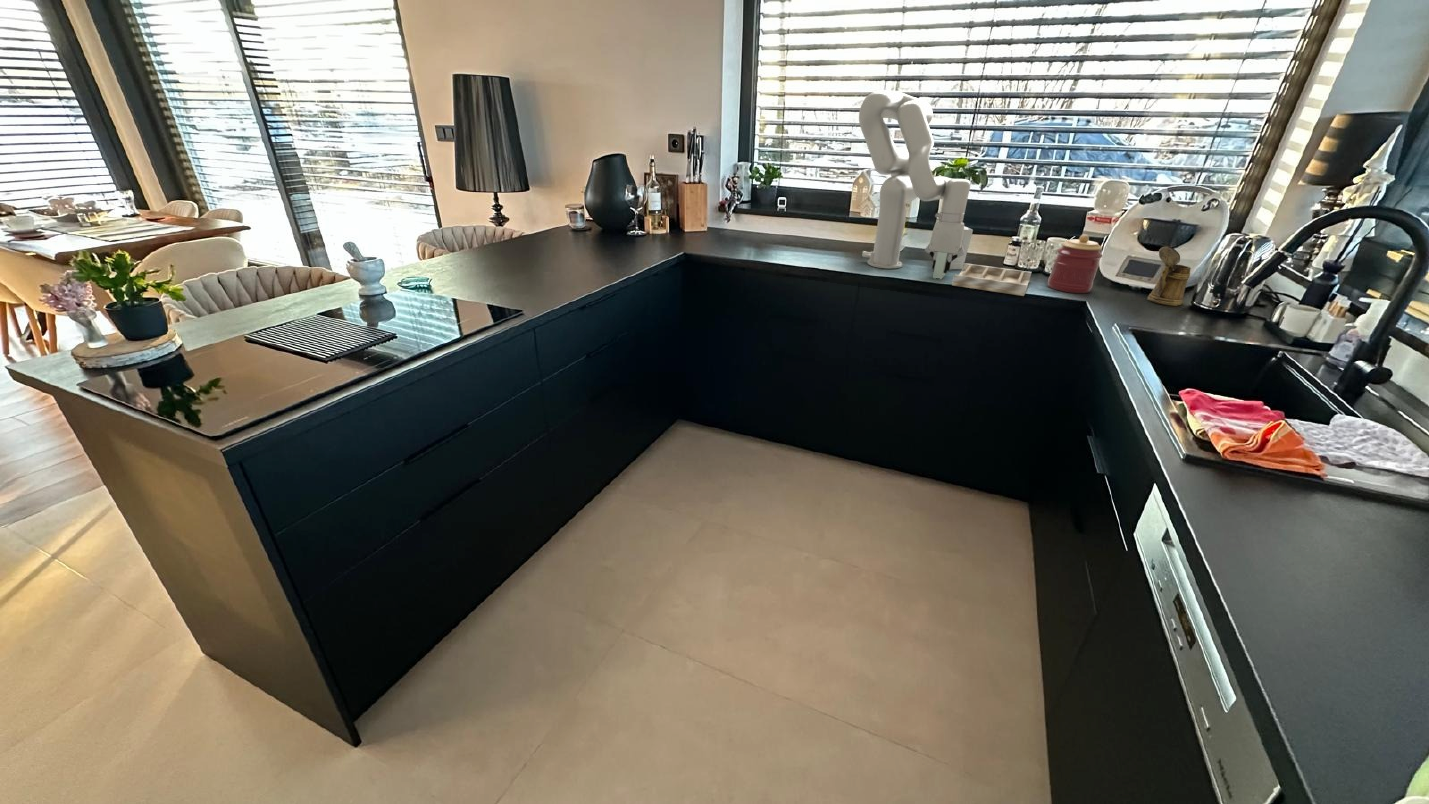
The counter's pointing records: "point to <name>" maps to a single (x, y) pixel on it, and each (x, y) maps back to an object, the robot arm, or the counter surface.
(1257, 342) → the counter surface
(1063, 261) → the canister
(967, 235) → the skincare box
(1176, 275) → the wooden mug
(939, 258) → the grey-green flat block
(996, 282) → the divided tray
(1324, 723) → the counter surface
